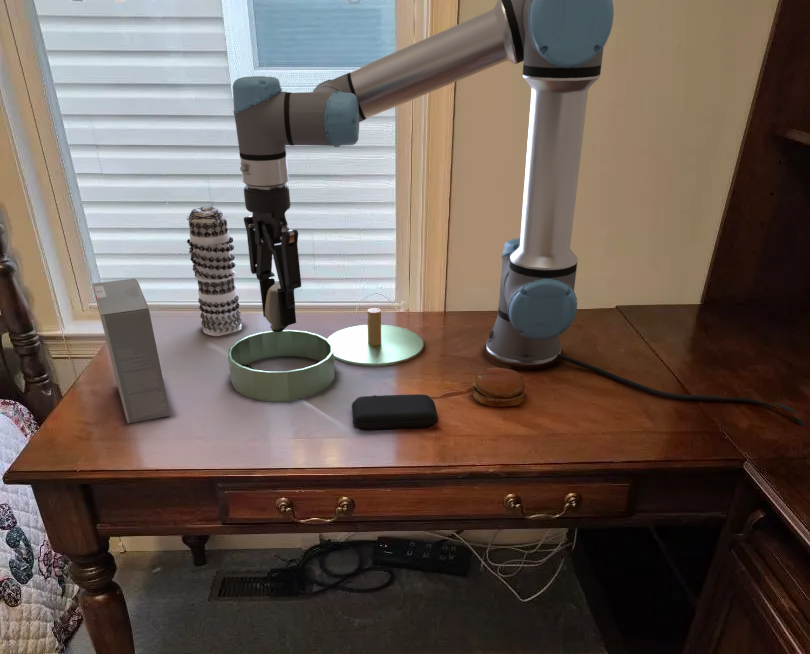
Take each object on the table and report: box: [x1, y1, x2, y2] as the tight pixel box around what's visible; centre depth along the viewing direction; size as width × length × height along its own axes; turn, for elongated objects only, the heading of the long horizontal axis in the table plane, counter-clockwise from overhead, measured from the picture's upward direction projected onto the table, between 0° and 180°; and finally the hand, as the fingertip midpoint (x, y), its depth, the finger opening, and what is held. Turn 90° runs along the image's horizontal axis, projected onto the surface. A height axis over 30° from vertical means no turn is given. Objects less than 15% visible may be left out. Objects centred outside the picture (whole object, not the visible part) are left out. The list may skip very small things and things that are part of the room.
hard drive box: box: [92, 278, 171, 424], centre depth 131 cm, size 16×8×20 cm, turn 23°
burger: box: [472, 367, 526, 408], centre depth 138 cm, size 10×9×5 cm
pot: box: [227, 329, 336, 403], centre depth 144 cm, size 20×20×6 cm
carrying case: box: [351, 393, 439, 432], centre depth 132 cm, size 11×3×15 cm
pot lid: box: [327, 307, 424, 367], centre depth 155 cm, size 20×20×8 cm
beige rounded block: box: [265, 281, 288, 332], centre depth 137 cm, size 6×5×8 cm
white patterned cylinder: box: [186, 205, 243, 337], centre depth 158 cm, size 9×9×25 cm
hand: (279, 319), depth 138 cm, fingers closed on beige rounded block, 5 cm apart
